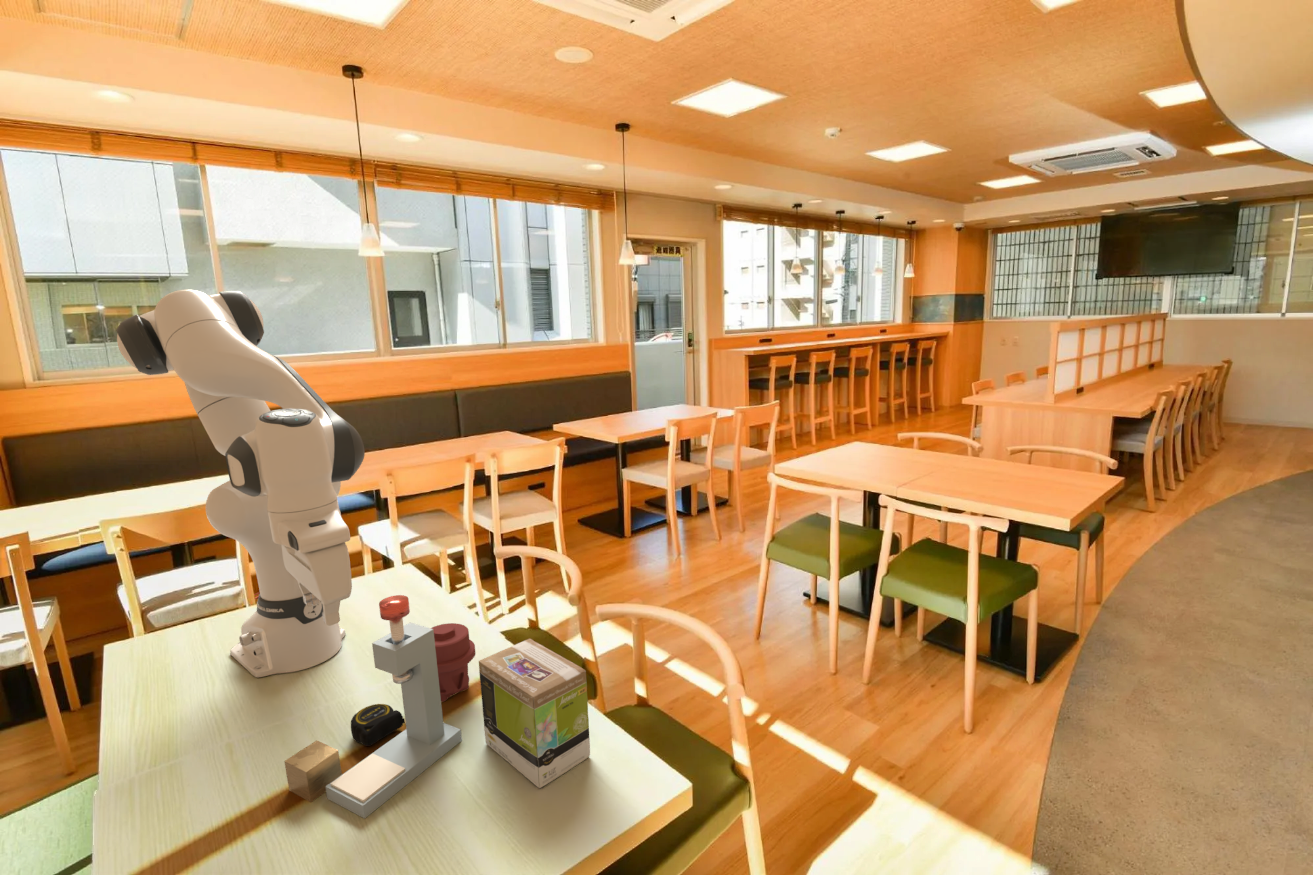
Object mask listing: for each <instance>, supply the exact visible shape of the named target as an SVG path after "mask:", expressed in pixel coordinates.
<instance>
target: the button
mask: <svg viewBox="0 0 1313 875" xmlns="http://www.w3.org/2000/svg"><path fill="white" fill-rule="evenodd" d="M378 607H379V614H380V619H381V620H383V621H388V622H389V629H390V633H391V638H392V644H394V645H398V644H399V643H401V642H403V641H405V635H404V627H403V626H404V620H403V619H404V618H405V617H407V616H408V615H409V614H410V612H411V611H410V610H411V609H410V603H409V597H408V596H406V595H401V594H398V595H390V596H388V597H385V598H383V599H381V600H380V601H379V604H378ZM391 675H392V681H393V683H395V684H397V685H398V684H399V685H401V684H402V683H406V682H408V681H410V680H411V679H412V678H413V673H412V669H409V670H408V671H406V672H405V673H403V674H401V675H400V676H396V675H394V674H391Z"/></svg>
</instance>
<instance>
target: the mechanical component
mask: <svg viewBox="0 0 1313 875" xmlns="http://www.w3.org/2000/svg"><path fill="white" fill-rule="evenodd" d="M430 628H431V629H433V631H434V640H435V650H436V659H437V668H438V678H439V687H440V696H441V703H444V702H446V701H447V700H448V699H449V698H451V697H452V696H454V695H456V694H458V693H460V692H463V691H466V690H468V689H469V688H470V685H469V684H470V683H469V682H470V676H469V663H470V662H471V661H472V660H473V659H474V658H475V656H476V644H475V642H474V641H472V640H471V639H470V630H469V628H468V627H467V626H466V625H464V624H461V623H455V622H454V623H449V622H448V623H442V624H437V625H434V626H432V627H430Z"/></svg>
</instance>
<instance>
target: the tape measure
mask: <svg viewBox="0 0 1313 875" xmlns="http://www.w3.org/2000/svg"><path fill="white" fill-rule="evenodd" d="M404 724H406V722H405V717H404V716H403V715H402V712H400V711H399V710H396V709H395V710H394V709H393V707H392V706H390V705H389V704H386V703H385V704H384V703H376V704H375V703H374V704H371V705H368V706H365V707H364V708H362V709H360V710H359V711H358V712H356V713H355V714H354V715H353V716H352V718H351V721H350V732H351V736H352V738H353V739H352V740H354V741H355V742H356V743H359V744H362V745H363V746H366V747H369V746H373V745H374V744H375V743H377V742H378V741H380V740H382V739H383V738H385V737H387V736H388V735H390V734H391V733H393V732H395V731H397V730H399V729H400V728H402V726H403V725H404Z"/></svg>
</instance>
